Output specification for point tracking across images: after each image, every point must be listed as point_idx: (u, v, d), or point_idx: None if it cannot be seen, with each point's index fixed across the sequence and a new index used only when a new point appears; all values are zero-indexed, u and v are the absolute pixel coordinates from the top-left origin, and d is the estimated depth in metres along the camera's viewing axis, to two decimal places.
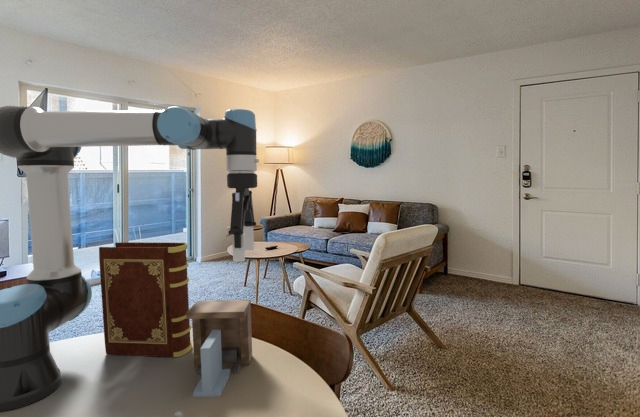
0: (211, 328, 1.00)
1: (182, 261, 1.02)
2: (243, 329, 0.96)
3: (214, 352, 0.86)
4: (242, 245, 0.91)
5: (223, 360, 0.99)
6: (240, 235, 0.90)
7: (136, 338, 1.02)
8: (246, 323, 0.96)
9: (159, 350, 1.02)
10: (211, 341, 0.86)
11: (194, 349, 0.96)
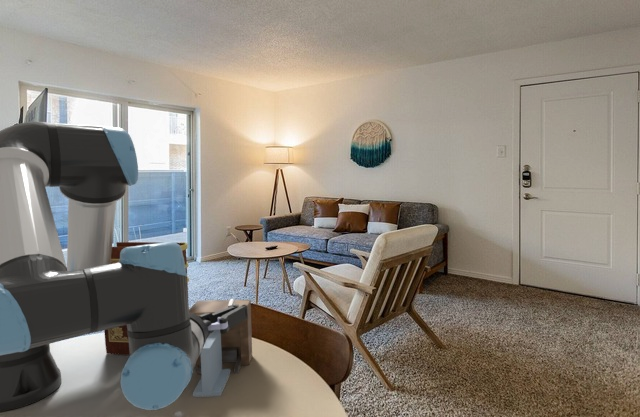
0: None
1: None
2: (243, 329, 0.96)
3: (214, 352, 0.86)
4: None
5: (223, 360, 0.99)
6: None
7: None
8: (246, 323, 0.96)
9: None
10: (211, 341, 0.86)
11: None
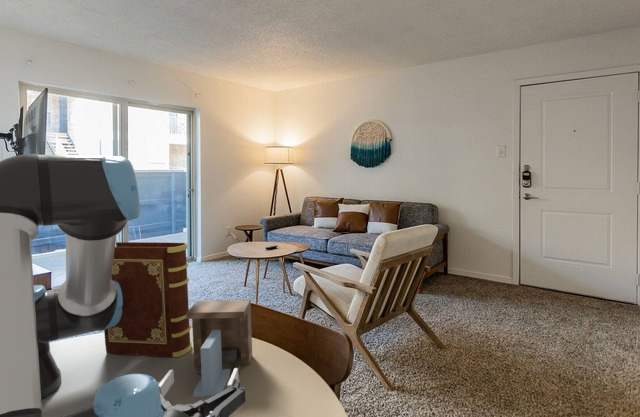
0: (211, 328, 1.00)
1: (182, 261, 1.02)
2: (243, 329, 0.96)
3: (214, 352, 0.87)
4: None
5: (223, 360, 0.99)
6: None
7: (136, 338, 1.03)
8: (246, 323, 0.96)
9: (158, 350, 1.02)
10: (211, 341, 0.86)
11: (194, 349, 0.96)
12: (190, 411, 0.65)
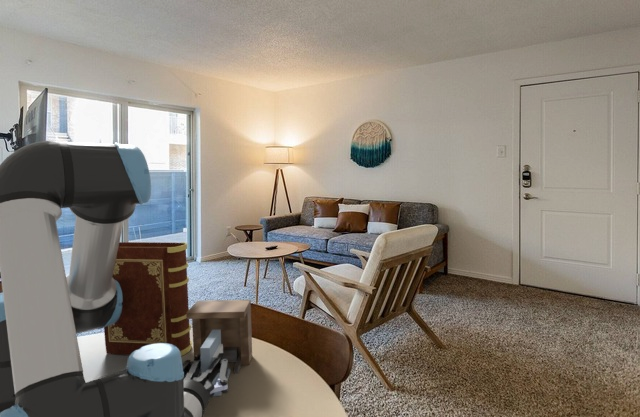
0: (211, 328, 1.00)
1: (182, 261, 1.02)
2: (243, 329, 0.96)
3: (214, 352, 0.86)
4: None
5: None
6: None
7: (136, 338, 1.03)
8: (246, 323, 0.96)
9: None
10: (211, 341, 0.86)
11: (194, 349, 0.96)
12: (203, 381, 0.75)
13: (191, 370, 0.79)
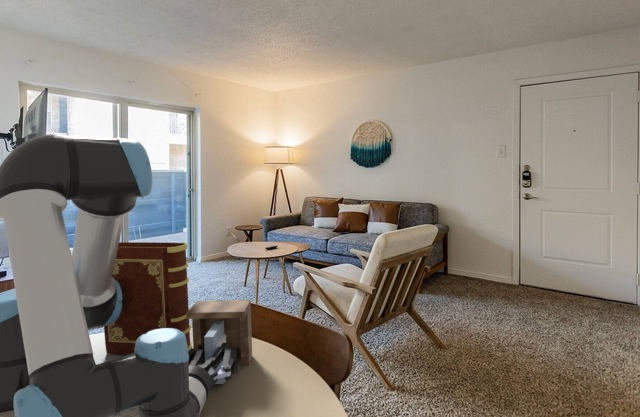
0: None
1: (182, 261, 1.02)
2: (243, 329, 0.96)
3: (217, 341, 0.89)
4: None
5: None
6: None
7: (135, 338, 1.03)
8: (246, 323, 0.96)
9: None
10: (214, 330, 0.88)
11: None
12: (207, 368, 0.77)
13: (195, 358, 0.82)
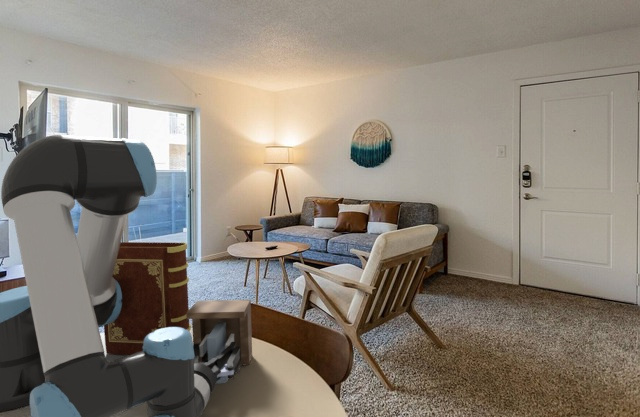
0: (211, 328, 1.00)
1: (182, 261, 1.02)
2: (243, 329, 0.96)
3: (220, 342, 0.92)
4: None
5: None
6: None
7: (136, 338, 1.03)
8: (246, 323, 0.96)
9: None
10: (217, 332, 0.91)
11: None
12: (210, 365, 0.80)
13: (194, 356, 0.84)
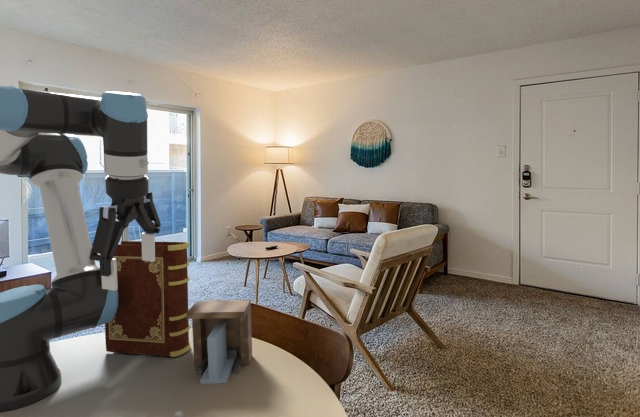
0: (211, 328, 1.00)
1: (182, 260, 1.03)
2: (243, 329, 0.96)
3: (220, 342, 0.92)
4: (112, 272, 0.72)
5: None
6: (108, 261, 0.71)
7: (135, 336, 1.03)
8: (246, 323, 0.96)
9: (156, 349, 1.02)
10: (217, 332, 0.91)
11: (194, 349, 0.96)
12: None
13: None
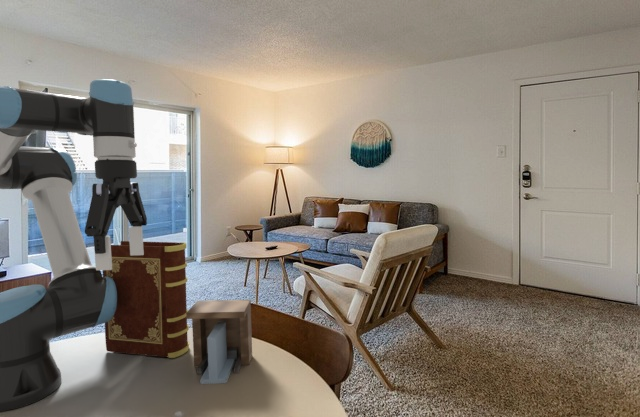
0: (211, 328, 1.00)
1: (179, 261, 1.02)
2: (243, 329, 0.96)
3: (220, 342, 0.92)
4: (107, 250, 0.72)
5: None
6: (102, 237, 0.71)
7: (133, 336, 1.03)
8: (246, 323, 0.96)
9: (155, 350, 1.02)
10: (217, 332, 0.91)
11: (194, 349, 0.96)
12: None
13: None
